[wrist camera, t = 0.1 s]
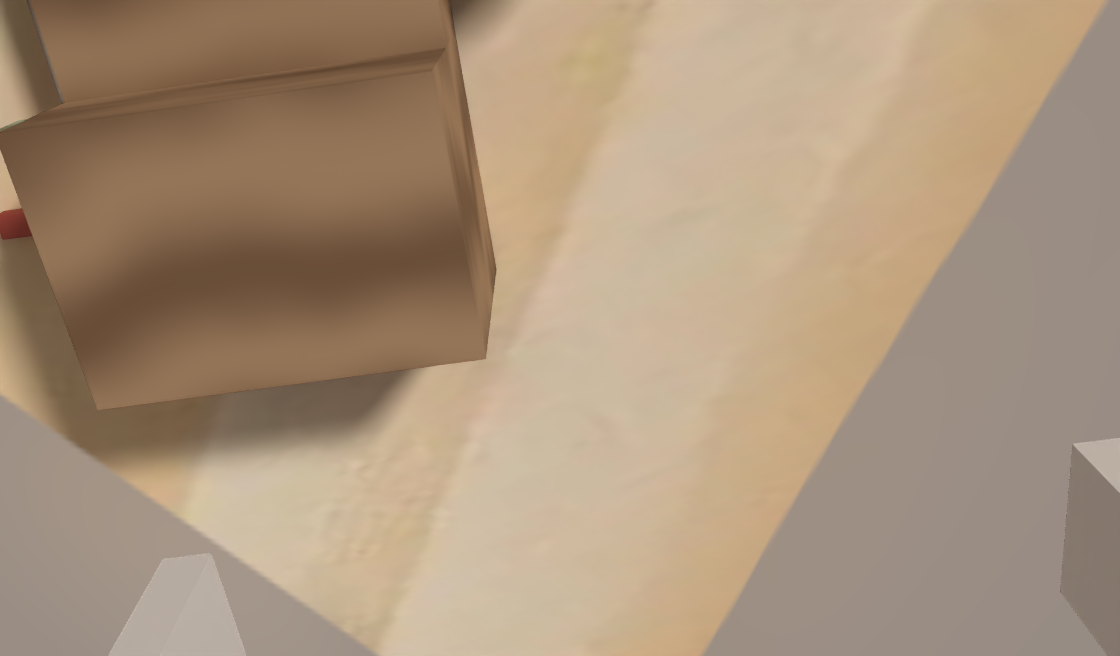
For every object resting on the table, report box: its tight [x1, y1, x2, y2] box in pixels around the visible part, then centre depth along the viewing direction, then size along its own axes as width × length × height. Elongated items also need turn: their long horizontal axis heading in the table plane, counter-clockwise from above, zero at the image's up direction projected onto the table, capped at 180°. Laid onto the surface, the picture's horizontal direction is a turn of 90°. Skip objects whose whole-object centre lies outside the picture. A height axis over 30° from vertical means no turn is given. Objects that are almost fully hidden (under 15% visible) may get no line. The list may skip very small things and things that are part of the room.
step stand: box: [0, 0, 496, 410], centre depth 35 cm, size 20×20×9 cm
